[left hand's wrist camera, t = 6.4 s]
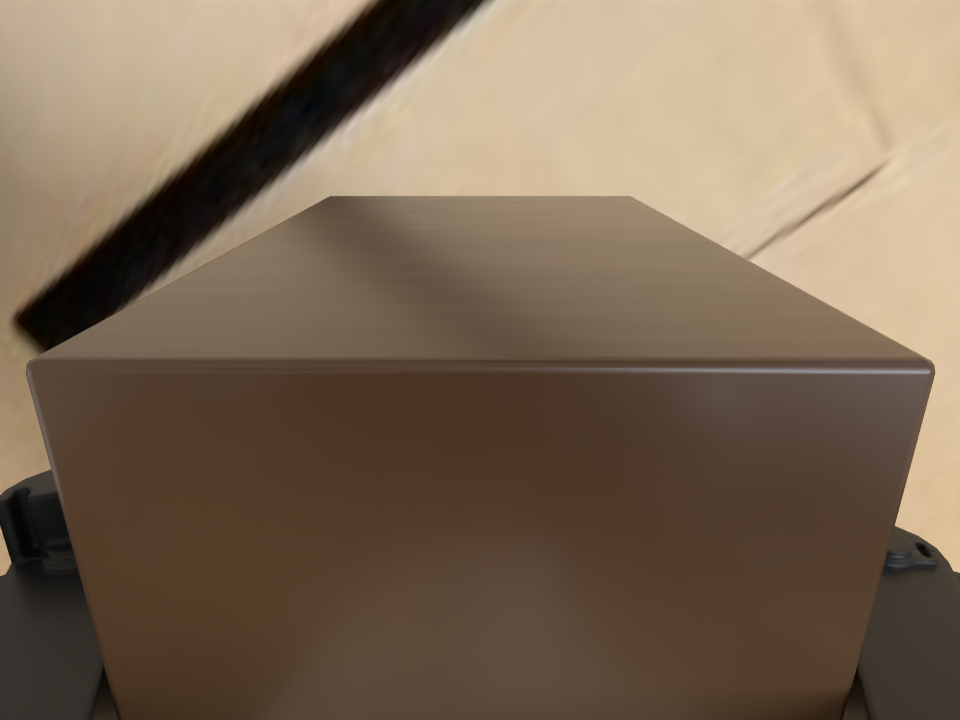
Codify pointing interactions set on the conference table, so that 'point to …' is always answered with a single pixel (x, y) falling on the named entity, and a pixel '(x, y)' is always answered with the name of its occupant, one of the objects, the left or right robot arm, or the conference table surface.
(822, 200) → the conference table surface
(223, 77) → the conference table surface
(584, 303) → the box
